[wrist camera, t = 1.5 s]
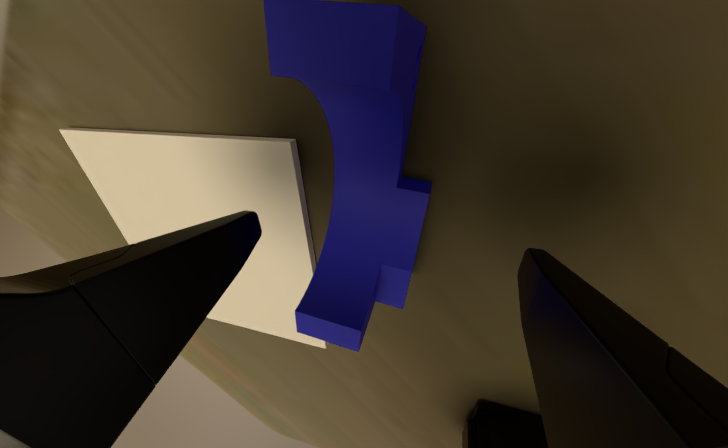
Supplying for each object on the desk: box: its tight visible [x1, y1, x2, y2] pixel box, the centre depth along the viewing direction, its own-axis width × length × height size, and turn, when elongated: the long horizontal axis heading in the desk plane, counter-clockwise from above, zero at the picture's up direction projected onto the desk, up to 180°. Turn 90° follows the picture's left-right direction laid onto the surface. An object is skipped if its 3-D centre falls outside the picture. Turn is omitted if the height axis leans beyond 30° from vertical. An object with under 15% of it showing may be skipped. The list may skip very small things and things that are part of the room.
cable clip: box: [264, 0, 432, 352], centre depth 11 cm, size 12×4×6 cm, turn 175°
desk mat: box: [59, 127, 329, 349], centre depth 20 cm, size 17×17×1 cm
